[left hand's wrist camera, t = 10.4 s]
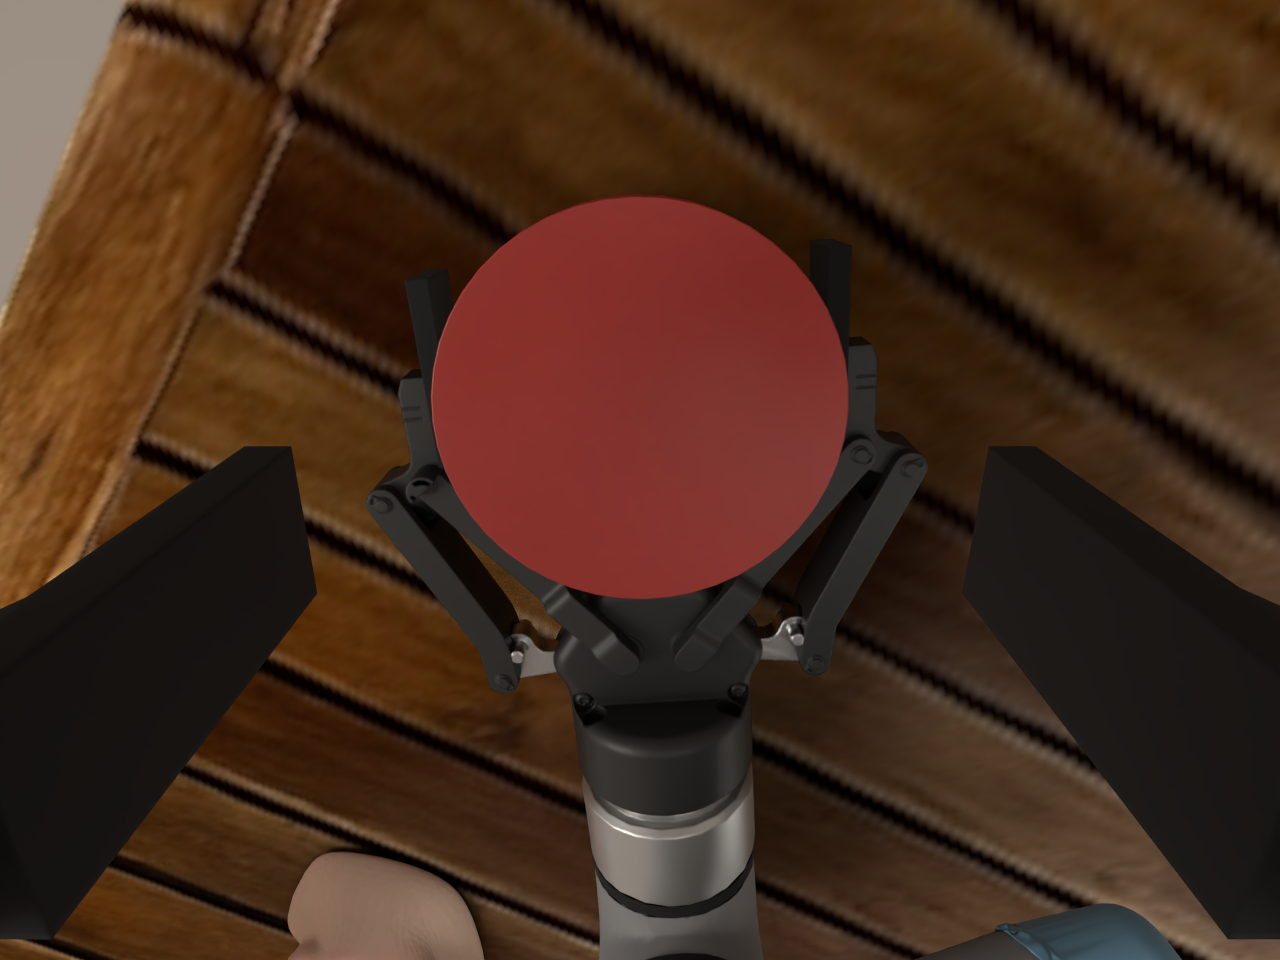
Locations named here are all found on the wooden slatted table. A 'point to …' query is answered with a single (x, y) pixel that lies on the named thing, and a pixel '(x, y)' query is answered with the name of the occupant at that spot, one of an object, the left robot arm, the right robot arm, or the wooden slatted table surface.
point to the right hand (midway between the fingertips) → (626, 257)
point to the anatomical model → (378, 912)
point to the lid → (639, 397)
